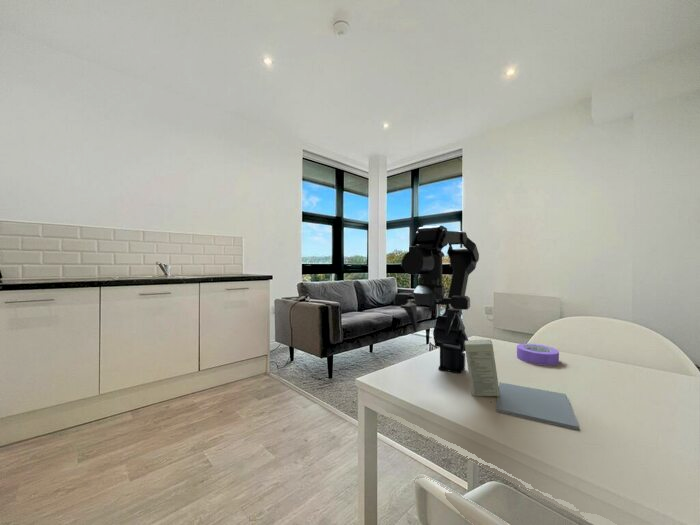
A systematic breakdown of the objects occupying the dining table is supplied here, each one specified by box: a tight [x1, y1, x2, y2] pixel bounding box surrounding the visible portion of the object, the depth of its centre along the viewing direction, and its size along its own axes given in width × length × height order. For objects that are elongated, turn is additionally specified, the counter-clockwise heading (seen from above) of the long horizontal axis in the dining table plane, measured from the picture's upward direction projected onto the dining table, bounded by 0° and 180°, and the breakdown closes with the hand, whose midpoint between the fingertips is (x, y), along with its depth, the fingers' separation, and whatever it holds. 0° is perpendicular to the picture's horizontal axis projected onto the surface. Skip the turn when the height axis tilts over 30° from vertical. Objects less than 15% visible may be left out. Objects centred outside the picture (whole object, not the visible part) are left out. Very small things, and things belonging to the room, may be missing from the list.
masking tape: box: [516, 343, 560, 366], centre depth 96 cm, size 12×12×4 cm
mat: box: [495, 381, 580, 431], centre depth 66 cm, size 14×16×1 cm
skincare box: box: [465, 339, 500, 397], centre depth 71 cm, size 6×4×12 cm
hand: (430, 333), depth 77 cm, fingers open, 8 cm apart
